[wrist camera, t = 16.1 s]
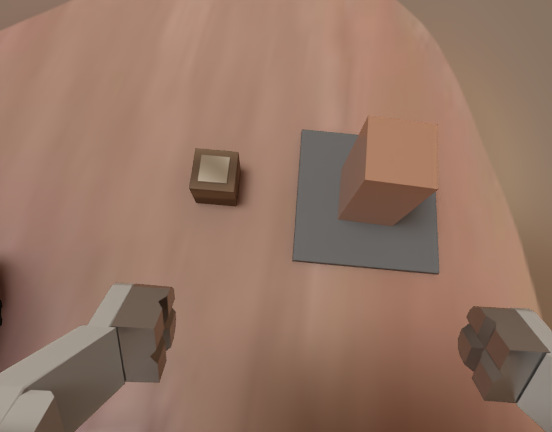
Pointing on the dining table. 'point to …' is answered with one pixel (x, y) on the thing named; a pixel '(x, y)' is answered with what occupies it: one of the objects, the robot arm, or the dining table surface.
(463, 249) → the dining table surface
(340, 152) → the grey mat
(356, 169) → the tan rectangular pillar
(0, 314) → the dark brown rock
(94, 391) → the robot arm
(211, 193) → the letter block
